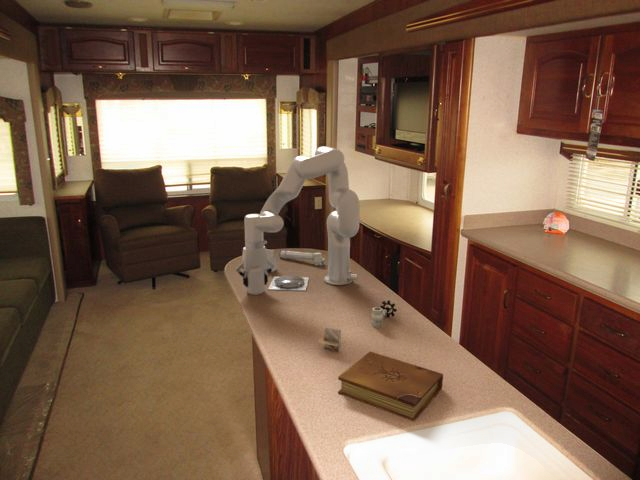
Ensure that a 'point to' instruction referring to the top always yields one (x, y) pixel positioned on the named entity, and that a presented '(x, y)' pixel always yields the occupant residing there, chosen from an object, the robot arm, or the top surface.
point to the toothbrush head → (303, 256)
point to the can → (256, 281)
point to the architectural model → (331, 339)
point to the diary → (391, 385)
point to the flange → (289, 283)
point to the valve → (381, 313)
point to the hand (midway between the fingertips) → (255, 284)
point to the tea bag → (271, 258)
